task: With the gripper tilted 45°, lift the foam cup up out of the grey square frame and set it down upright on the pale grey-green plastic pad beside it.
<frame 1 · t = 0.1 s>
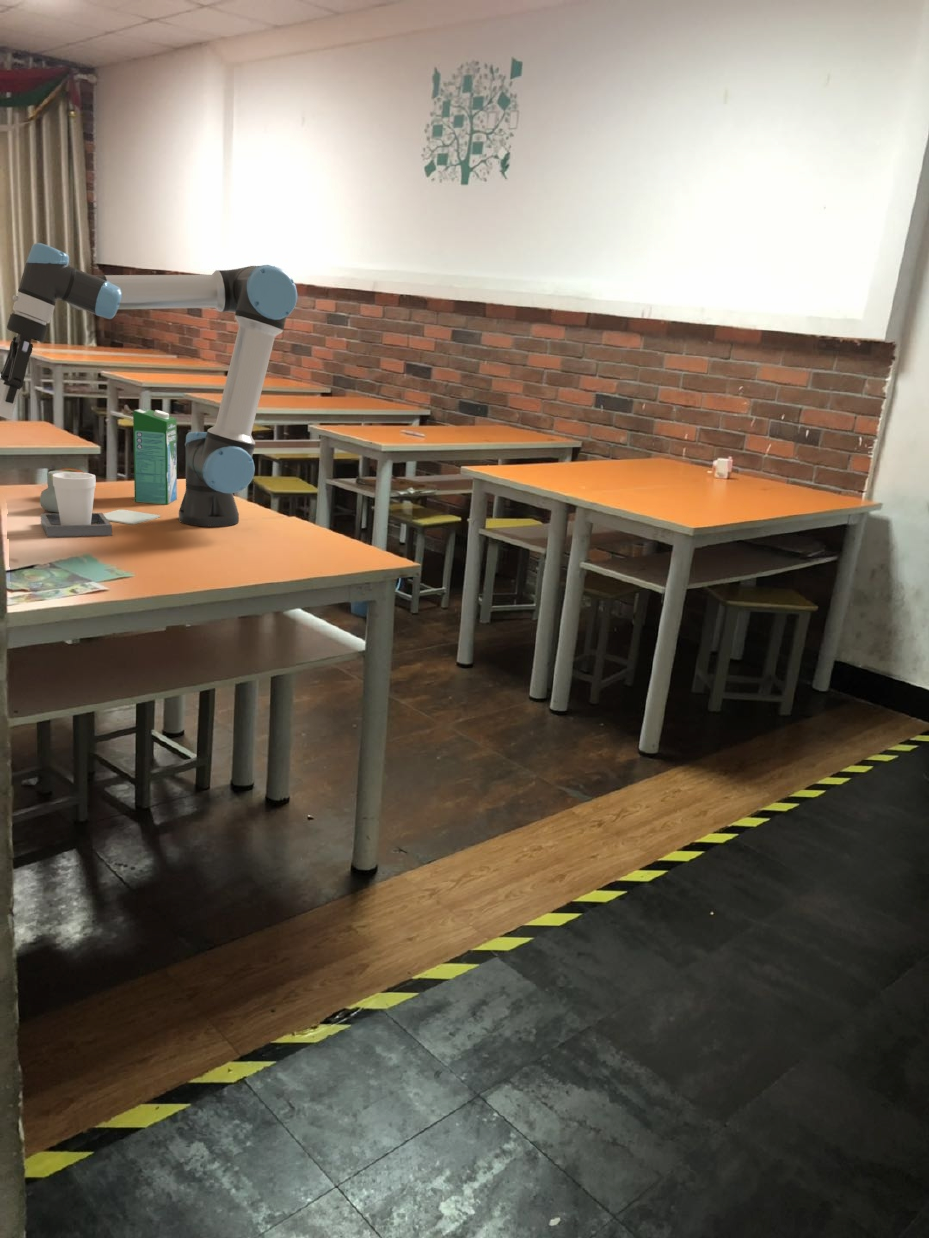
hand: (0, 413, 207), 28 cm above the table, tool tilted 20°, fingers open, 13 cm apart
grey square frame: (76, 529, 228), on the table
pad: (126, 517, 245), on the table
air freshener: (61, 512, 246), on the table
fruit: (70, 499, 261), on the table
milk carton: (156, 501, 269), on the table
foam cup: (76, 530, 228), resting in grey square frame
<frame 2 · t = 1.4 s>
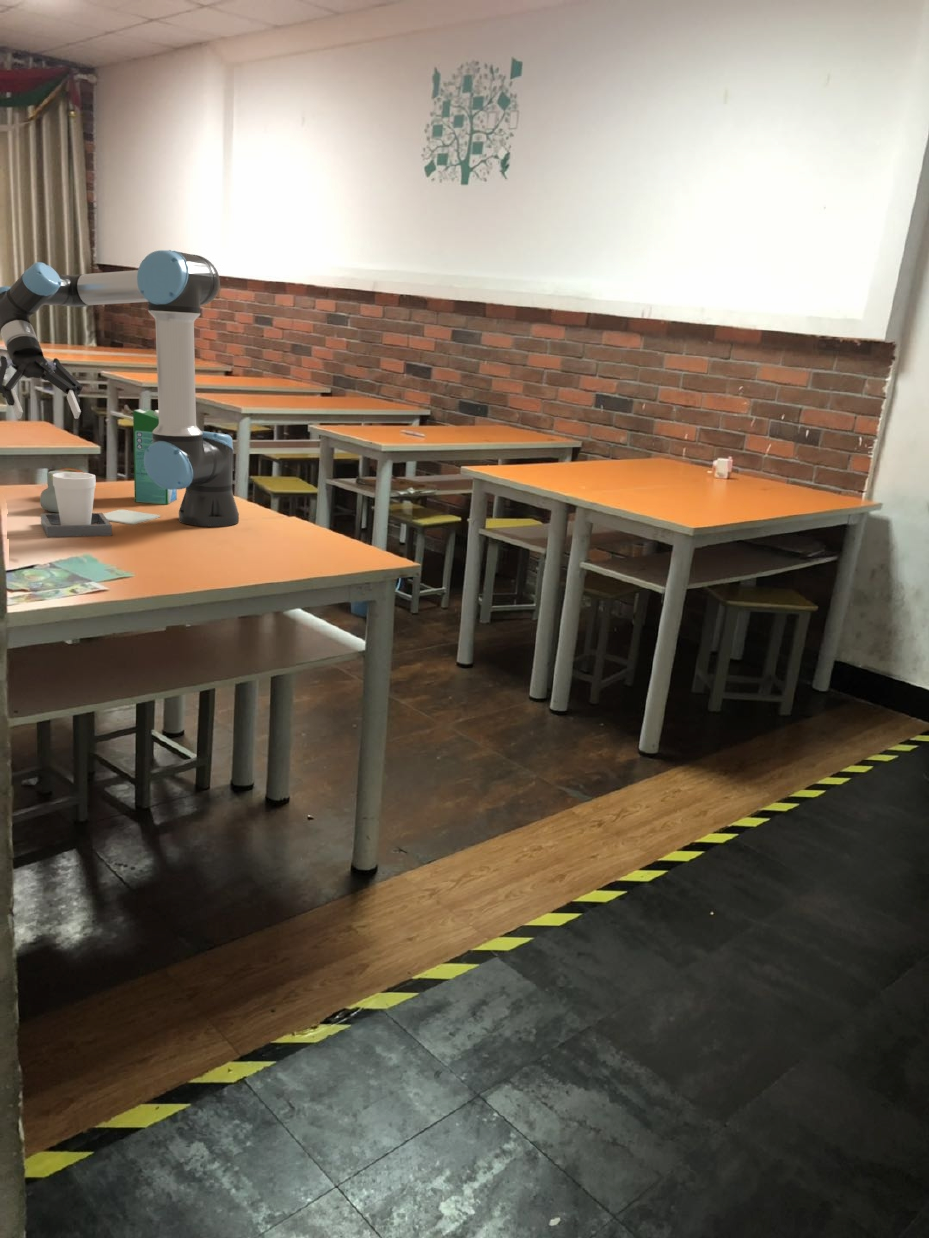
hand: (49, 415, 227), 26 cm above the table, tool tilted 45°, fingers open, 13 cm apart
nothing on the table moved.
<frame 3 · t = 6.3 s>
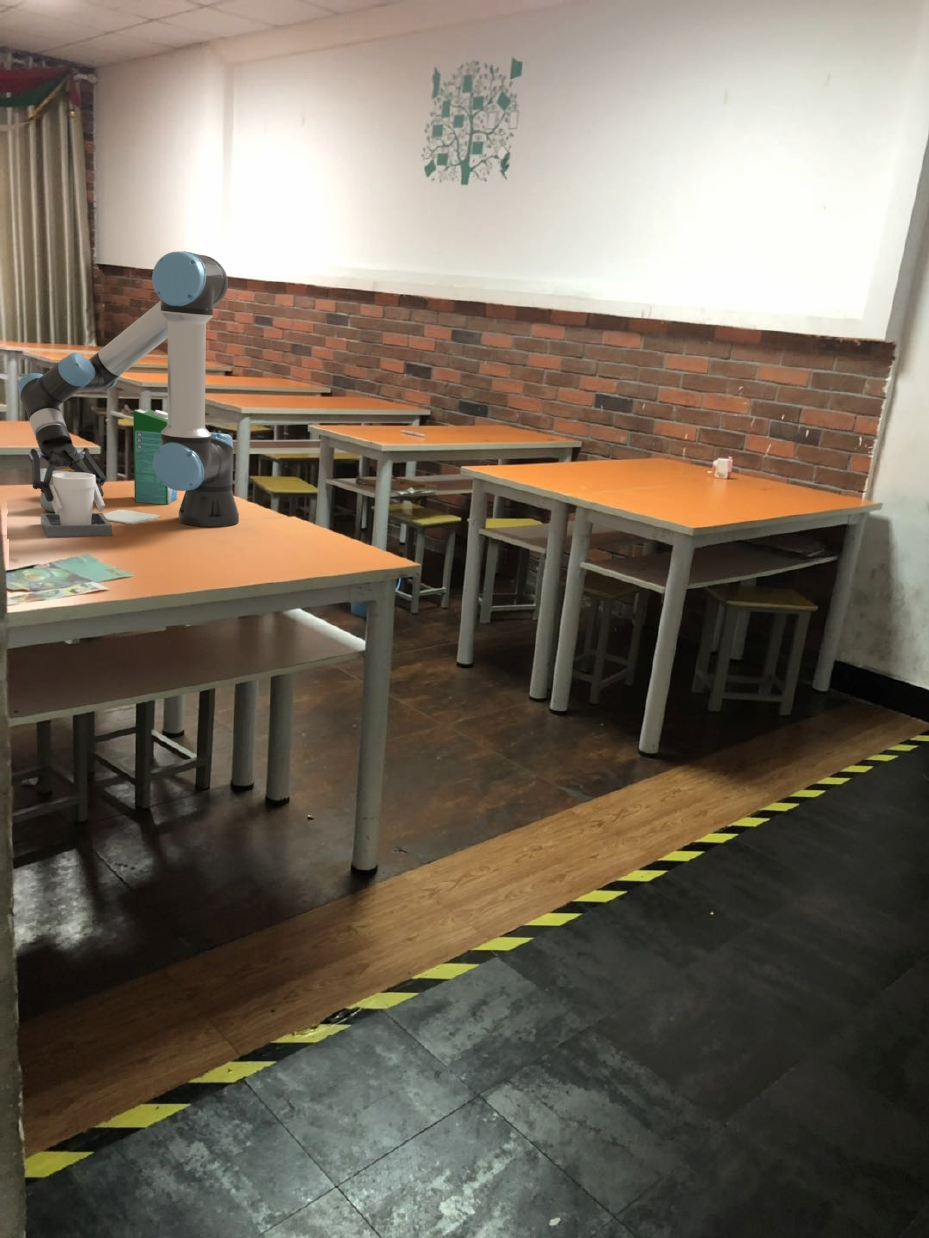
hand: (80, 510, 225), 5 cm above the table, tool tilted 45°, fingers closed on foam cup, 9 cm apart
foam cup: (76, 530, 228), resting in grey square frame, touching gripper
everything else where it was.
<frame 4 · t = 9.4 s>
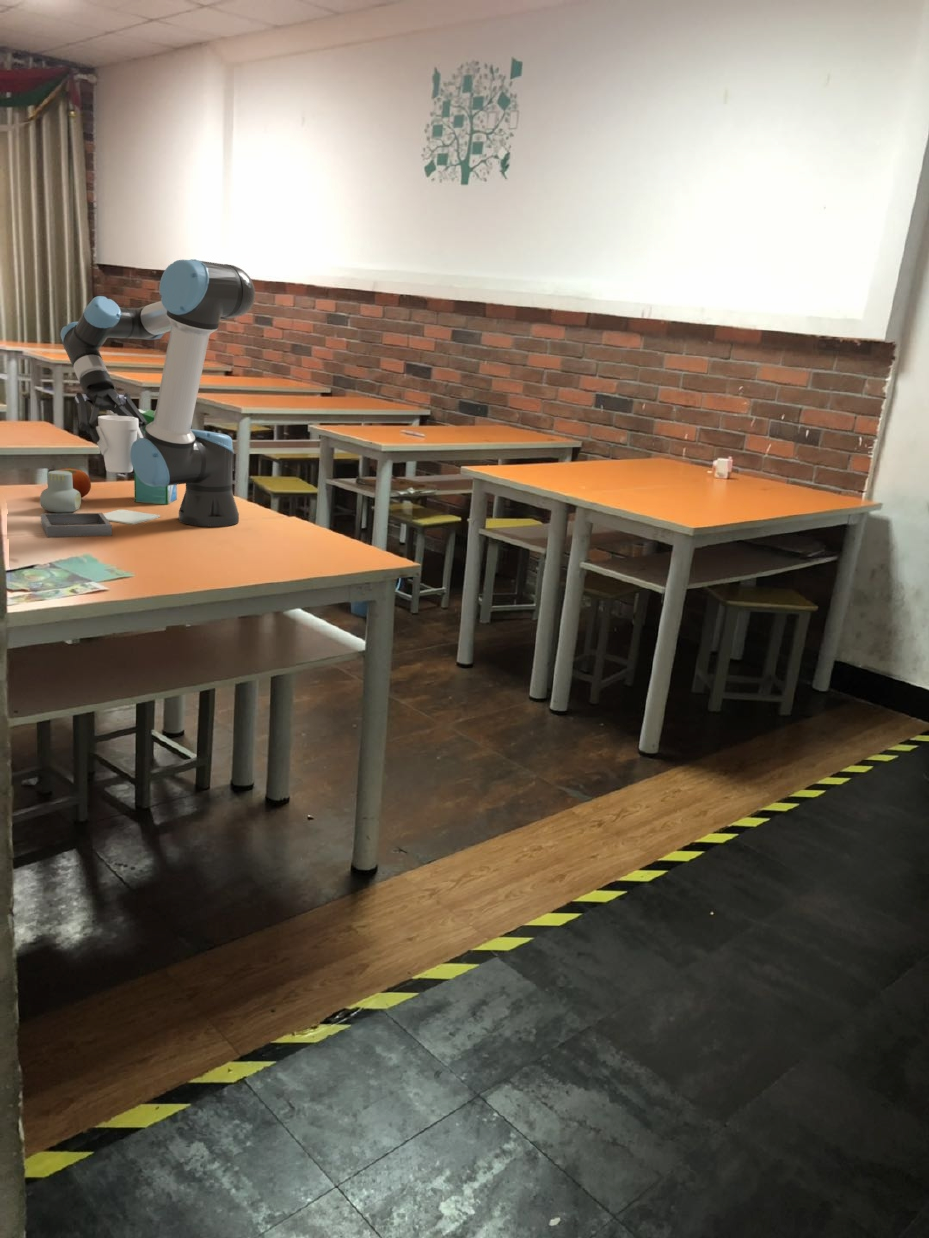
hand: (125, 450, 236), 18 cm above the table, tool tilted 45°, fingers closed on foam cup, 9 cm apart
foam cup: (119, 471, 240), point 12 cm above the table, touching gripper
everything else where it was.
when the fingers open (7 cm above the table, at t = 12.7 s): foam cup drops 1 cm, resting on pad.
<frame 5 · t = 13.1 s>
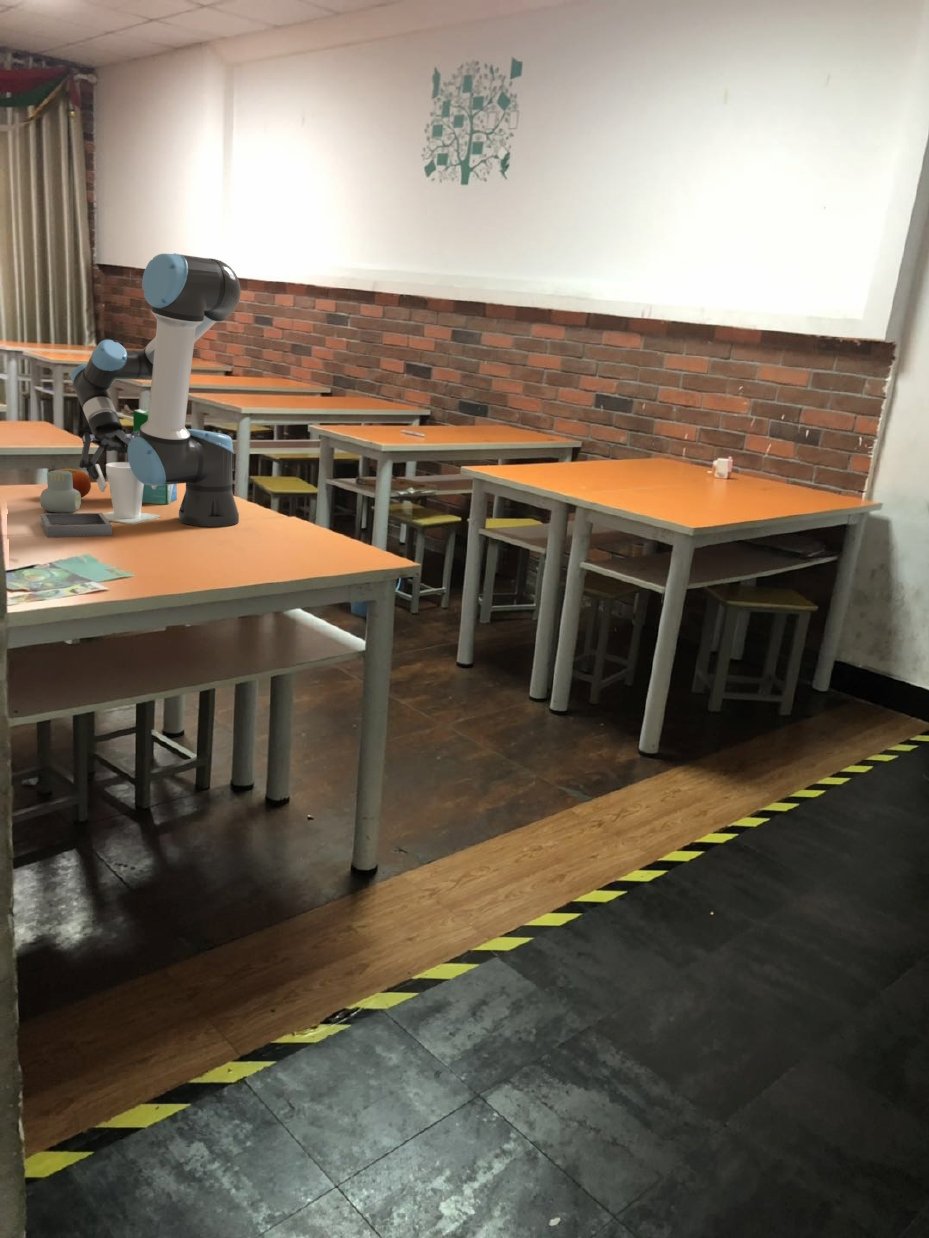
hand: (130, 487, 241), 8 cm above the table, tool tilted 45°, fingers open, 13 cm apart
foam cup: (127, 516, 245), resting on pad
everything else where it was.
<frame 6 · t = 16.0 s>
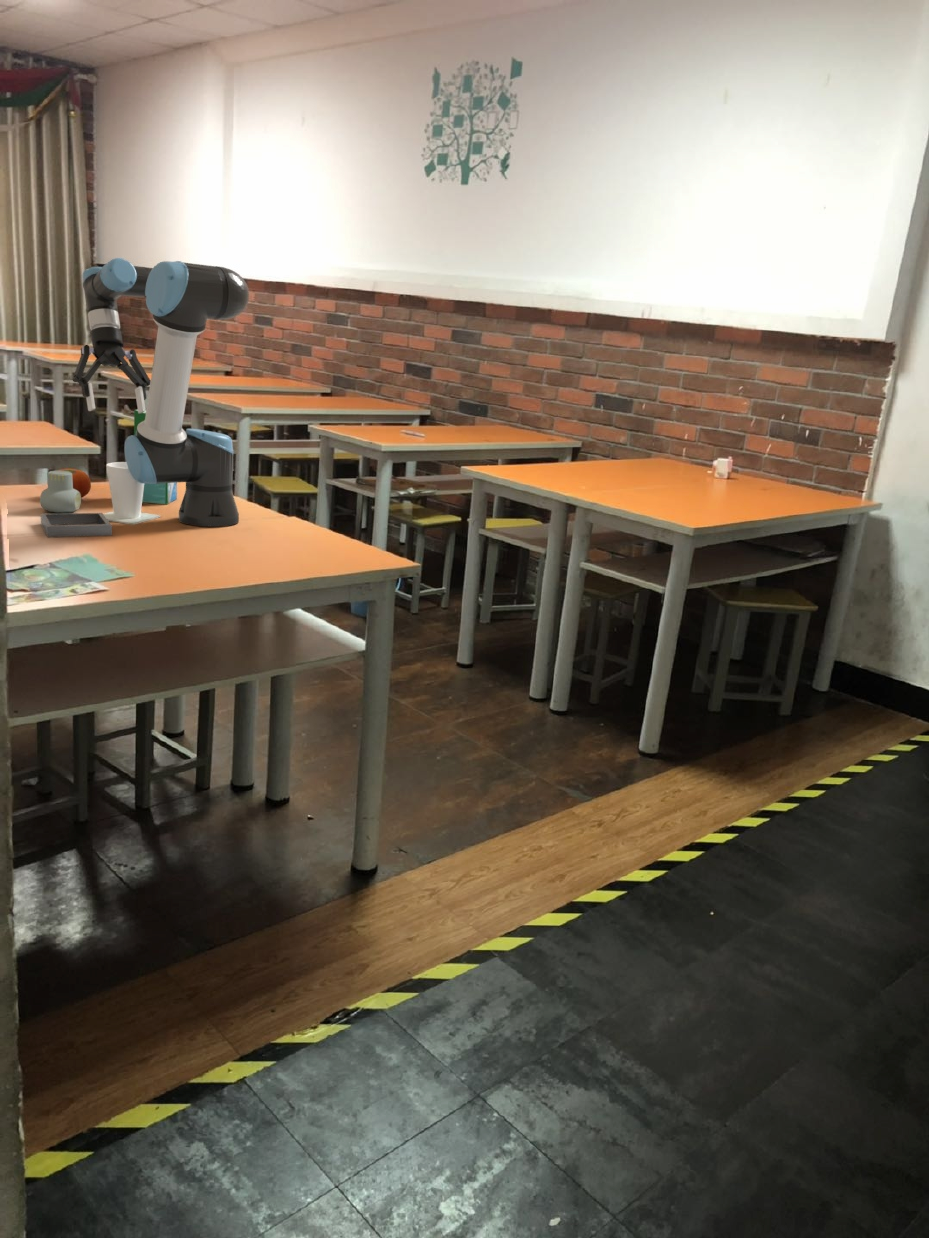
hand: (117, 411, 249), 25 cm above the table, tool tilted 20°, fingers open, 13 cm apart
nothing on the table moved.
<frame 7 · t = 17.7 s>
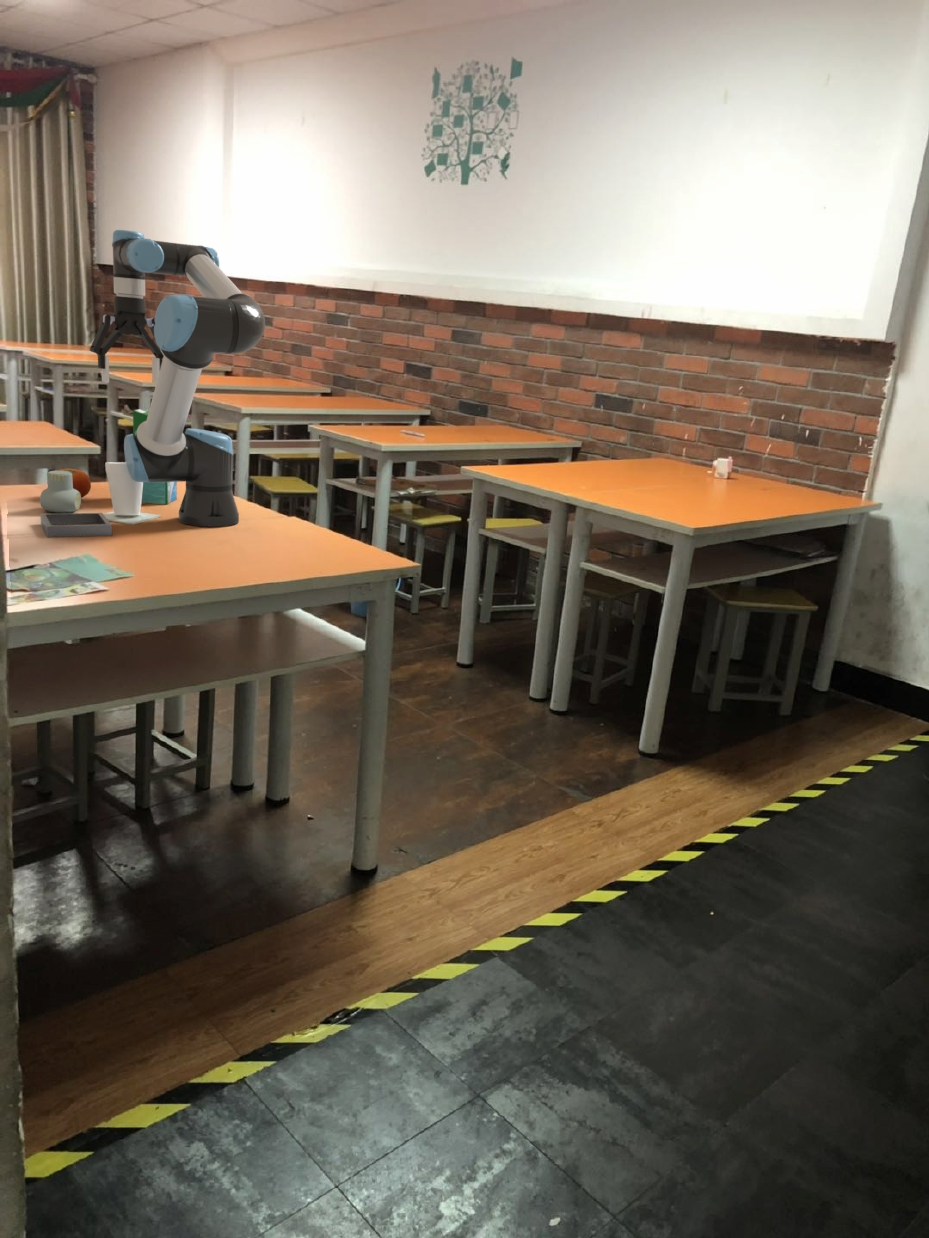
hand: (131, 383, 248), 33 cm above the table, tool pointing down, fingers open, 13 cm apart
foam cup: (127, 515, 245), point 1 cm above the table, touching arm, pad
everything else where it was.
at the end: foam cup inside the target area on the pad (0.2 cm from its centre), point 0.6 cm above the pad's base; foam cup tilted 7°; the gripper is holding nothing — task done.
